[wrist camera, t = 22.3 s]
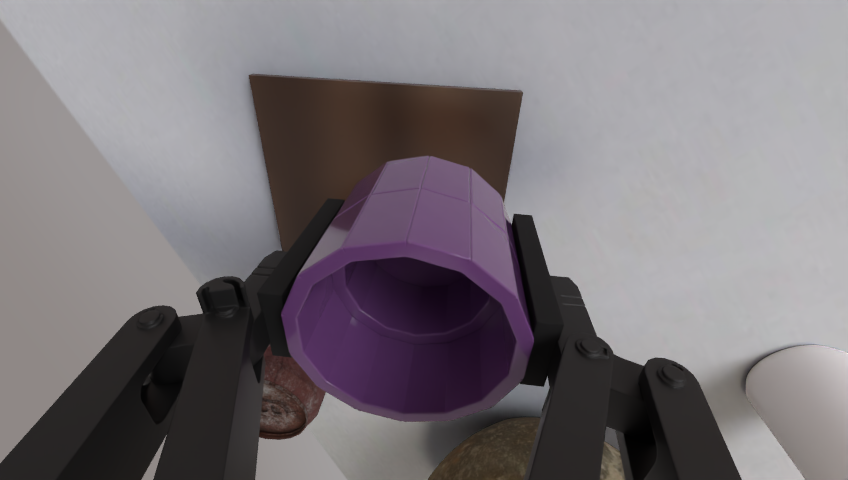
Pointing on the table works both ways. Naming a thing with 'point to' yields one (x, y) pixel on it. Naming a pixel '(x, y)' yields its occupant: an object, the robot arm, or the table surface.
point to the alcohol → (805, 407)
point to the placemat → (372, 136)
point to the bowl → (507, 454)
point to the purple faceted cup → (414, 296)
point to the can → (287, 398)
